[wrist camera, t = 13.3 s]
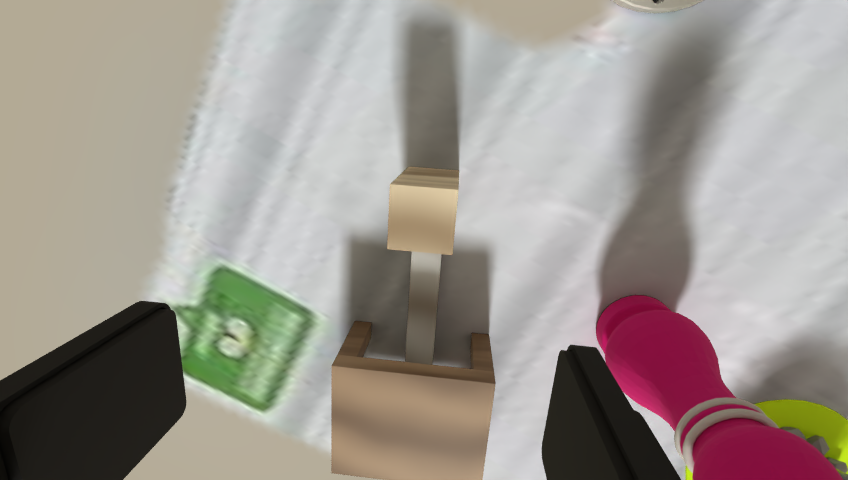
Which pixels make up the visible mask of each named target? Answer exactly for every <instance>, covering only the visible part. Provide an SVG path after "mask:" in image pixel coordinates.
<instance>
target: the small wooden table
mask: <svg viewBox="0 0 848 480" xmlns="http://www.w3.org/2000/svg"><path fill="white" fill-rule="evenodd" d="M370 339H371V322H361V321H355V322H354V324H353V326H352V328H351V330H350V332H349V333H348V335H347V337H346V339H345V341H344V343H343V345H342V347H341V349H340V351H339V353H338V355H337V357H336V359H335V361H334V362H333V364H332V473H336V474H343V475H351V476H359V477H367V478H375V479H383V480H482V478H483V471H484V463H485V456H486V449H487V442H488V434H489V427H490V420H491V413H492V405H493V398H494V391H495V376H494V369H493V361H492V354H491V346H490V338H489V335H488V334H478V333H472V337H471V346H470V353H471V369H466V368H457V367H447V366H438V365H429V364H419V363H410V362H401V361H392V360H382V359H373V358H364V357H363V356H364V353H365V351H366V348H367V346H368V343H369V341H370Z"/></svg>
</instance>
